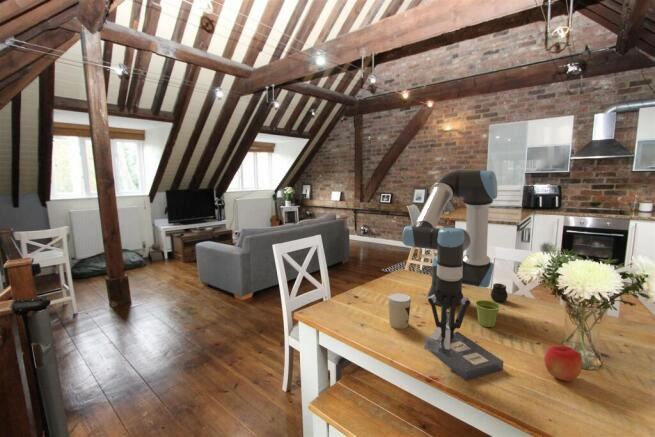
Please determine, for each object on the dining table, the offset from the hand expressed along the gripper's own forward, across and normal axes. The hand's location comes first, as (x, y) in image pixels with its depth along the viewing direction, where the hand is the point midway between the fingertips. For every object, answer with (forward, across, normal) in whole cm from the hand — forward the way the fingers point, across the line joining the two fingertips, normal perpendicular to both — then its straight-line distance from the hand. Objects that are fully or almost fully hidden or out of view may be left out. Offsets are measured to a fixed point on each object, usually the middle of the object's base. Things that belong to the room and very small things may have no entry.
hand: (446, 346), depth 100 cm
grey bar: (0, +1, -5) cm, 5 cm away
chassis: (+7, -6, -6) cm, 11 cm away
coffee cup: (+7, +14, -27) cm, 31 cm away
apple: (+8, -34, -1) cm, 35 cm away
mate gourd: (+7, -35, -60) cm, 69 cm away
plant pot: (+7, -21, -33) cm, 40 cm away
